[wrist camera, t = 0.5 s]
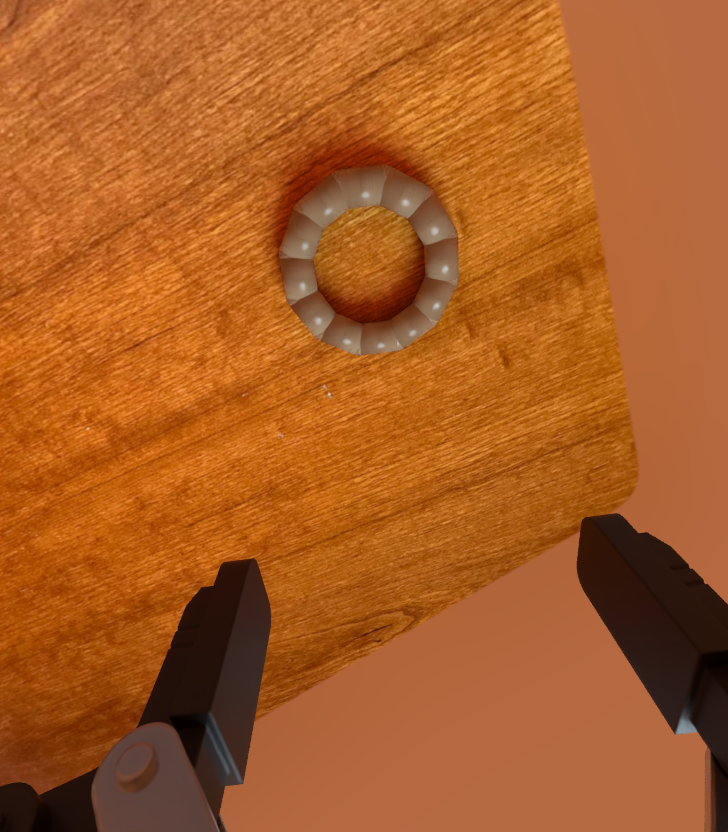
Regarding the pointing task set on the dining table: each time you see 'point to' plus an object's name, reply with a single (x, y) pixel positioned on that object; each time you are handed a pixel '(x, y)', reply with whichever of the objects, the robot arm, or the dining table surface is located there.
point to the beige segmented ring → (364, 191)
